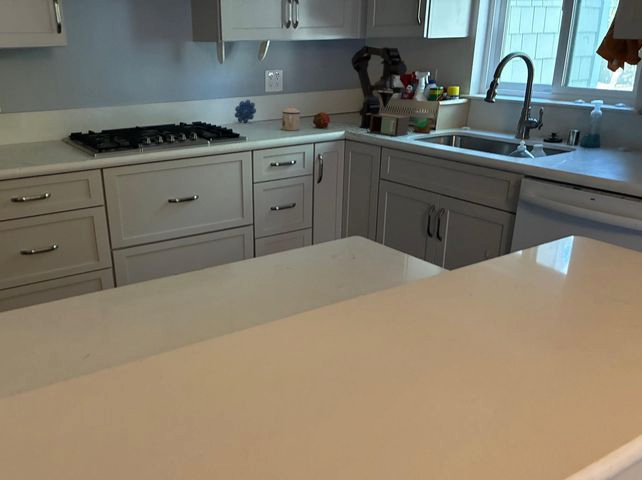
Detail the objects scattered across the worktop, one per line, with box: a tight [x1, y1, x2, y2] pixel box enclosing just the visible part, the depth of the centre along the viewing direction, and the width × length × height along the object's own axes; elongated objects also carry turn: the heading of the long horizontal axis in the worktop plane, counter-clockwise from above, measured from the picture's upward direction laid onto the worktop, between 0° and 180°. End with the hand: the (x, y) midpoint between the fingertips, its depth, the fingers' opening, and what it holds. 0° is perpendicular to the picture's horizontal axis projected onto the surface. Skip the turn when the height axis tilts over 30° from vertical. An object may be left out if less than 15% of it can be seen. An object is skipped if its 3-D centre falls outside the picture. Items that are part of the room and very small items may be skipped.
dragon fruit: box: [312, 111, 331, 129], centre depth 322 cm, size 8×8×12 cm
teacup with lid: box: [281, 105, 301, 132], centre depth 311 cm, size 12×9×12 cm
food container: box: [413, 110, 435, 135], centre depth 314 cm, size 12×6×10 cm, turn 25°
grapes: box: [234, 99, 257, 124], centre depth 331 cm, size 12×7×12 cm, turn 84°
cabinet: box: [366, 112, 410, 138], centre depth 308 cm, size 16×12×9 cm
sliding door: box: [381, 117, 397, 135], centre depth 302 cm, size 8×3×8 cm, turn 46°
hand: (384, 106), depth 313 cm, fingers closed
